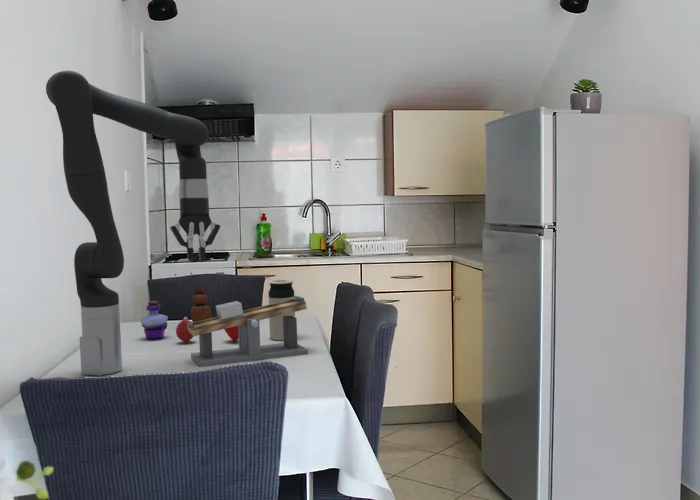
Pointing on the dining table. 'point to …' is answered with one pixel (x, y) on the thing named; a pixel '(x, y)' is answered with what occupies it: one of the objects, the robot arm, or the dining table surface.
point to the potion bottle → (154, 322)
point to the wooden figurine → (200, 306)
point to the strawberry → (232, 333)
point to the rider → (229, 310)
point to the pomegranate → (184, 331)
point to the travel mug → (277, 293)
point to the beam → (247, 316)
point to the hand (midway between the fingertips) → (196, 261)
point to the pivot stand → (250, 345)
